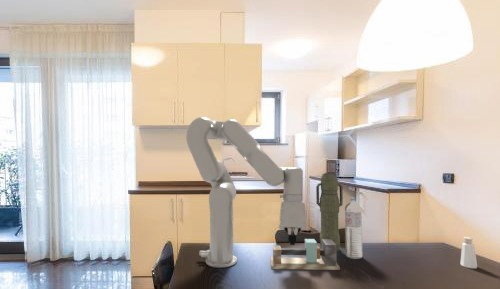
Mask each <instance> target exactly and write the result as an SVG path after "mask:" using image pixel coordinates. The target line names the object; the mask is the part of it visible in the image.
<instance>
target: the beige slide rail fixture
mask: <svg viewBox="0 0 500 289" xmlns="http://www.w3.org/2000/svg"><path fill="white" fill-rule="evenodd" d="M305 255H306V248H305V247H304V248H300V247H299V248H298V247H297V248H296V247H295V248H294V247H293V248H292V247H291V248H290V247H281V245H272V256H271V257H270V258H269V259H270V260H269V261H270V269H272V270H313V271H314V270H315V271H316V270H318V271H319V270H323V271H324V270H325V271H328V270H329V271H331V270H332V271H340V270H341V268H340V265H339V264H338V263H337V252H336V244H335V243H334V242H333V241H332V239H322V249H320V246H319V245H318V244H317V262H306V260H305V257H286V256H305ZM282 256H285V257H282Z"/></svg>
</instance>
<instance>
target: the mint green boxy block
mask: <svg viewBox="0 0 500 289" xmlns="http://www.w3.org/2000/svg"><path fill="white" fill-rule="evenodd" d="M317 245H318V242H317V241H316V240H315V238H304V248H306V255H304V258H305V260H306V262H317Z"/></svg>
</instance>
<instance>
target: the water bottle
mask: <svg viewBox="0 0 500 289" xmlns="http://www.w3.org/2000/svg"><path fill="white" fill-rule="evenodd" d="M362 208H363V207H362V206H361V205H360V204H359V203H358V202H357V201H356V198H355V197H350V201H349V202H348V203H346V205H345V207H344V211H345V212H344V213H345V214H344V215H345V218H344V219H345V221H344V222H345V223H344V224H345V225H344V226H345V227H344V231H345V232H344V233H345V234H344V241H345V242H344V244H345V245H344V246H345V248H344V249H345V252H344V253H345V256H346V258H348V259H352V260H359V259H362V257H363V224H362V217H363V216H362V212H363V209H362Z"/></svg>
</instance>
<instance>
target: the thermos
mask: <svg viewBox="0 0 500 289" xmlns="http://www.w3.org/2000/svg"><path fill="white" fill-rule="evenodd" d="M315 186H316V187H315V189H316V190H315V192H316V193H315V194H316V195H315V196H316V205H317V206H318V207H319V212H320V232H319V244H320V246H319V248H320V249H322V239H332V241H333V242H334V243H335V244H336V253H338V252H340V245H341V237H340V236H341V235H340V233H339V232H340V231H339V212H340V207H343V205H344V203H343V202H344V200H343V199H344V198H343V185H342V184H341V183H339V182H338V177H337V174H336V173H334V172H325V173H322V174H321V178H320V183H318V184H317V185H315ZM320 190H321V191H320ZM338 190H339V194H338Z"/></svg>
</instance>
